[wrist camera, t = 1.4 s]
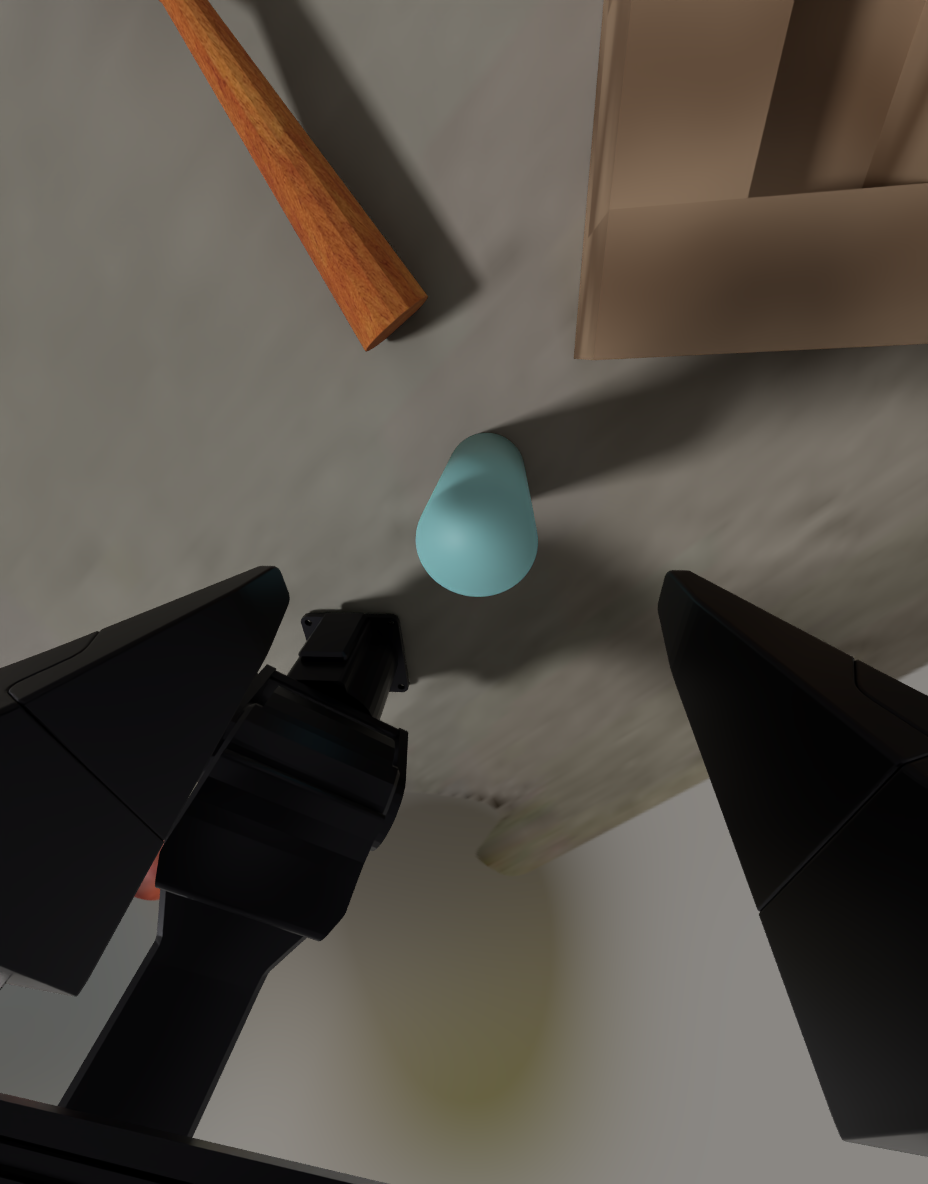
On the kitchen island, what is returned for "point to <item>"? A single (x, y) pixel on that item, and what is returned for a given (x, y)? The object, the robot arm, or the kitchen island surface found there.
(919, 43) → the hole block
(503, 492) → the pin
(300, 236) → the wooden maraca
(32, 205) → the kitchen island surface
